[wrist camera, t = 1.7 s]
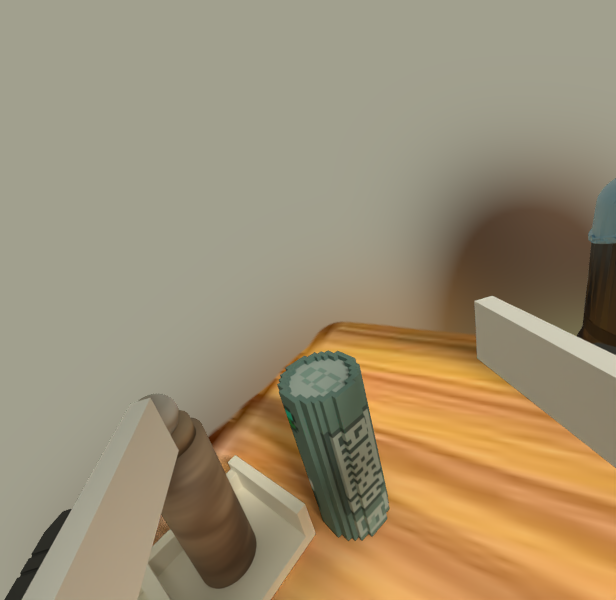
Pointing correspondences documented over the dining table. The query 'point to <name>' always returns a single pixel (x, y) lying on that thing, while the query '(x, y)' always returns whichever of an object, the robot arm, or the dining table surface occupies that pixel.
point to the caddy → (269, 551)
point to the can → (336, 441)
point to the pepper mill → (204, 503)
